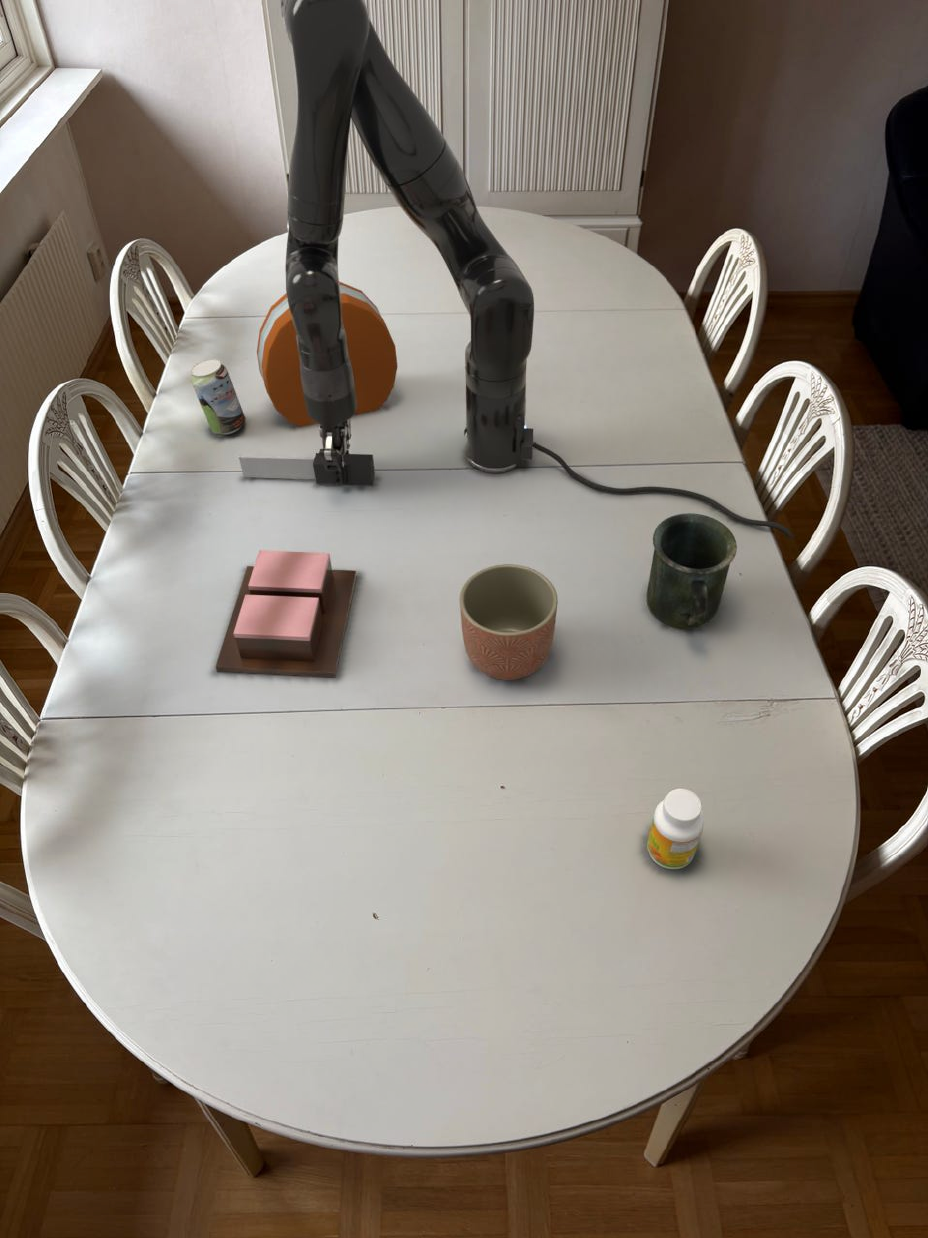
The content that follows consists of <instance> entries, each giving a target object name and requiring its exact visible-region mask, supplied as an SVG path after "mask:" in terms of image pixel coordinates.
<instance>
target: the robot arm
mask: <svg viewBox="0 0 928 1238" xmlns="http://www.w3.org/2000/svg"><path fill="white" fill-rule="evenodd" d="M280 13H281V19H282V22H283V26H284V29H285V31H286V35H287V38H288V41H289V43H290V44H291V47H292V53H293V60H294V69H295V77H296V88H297V112H296V113H297V115H296V125H295V133H294V137H293V144H292V150H291V154H290V160H289V161H290V162H289V169H288V172H289V173H288V185H287V186H288V187H287V188H288V189H287V224H288V225H287V226H288V232H287V241H286V252H285V269H284V270H285V292H286V293H287V299H288V305H289V309H290V313H291V317H292V321H293V324H294V327H295V330H296V342H297V348H298V354H299V359H300V375H301V382H302V387H303V393H304V399H305V404H306V410H307V414H308V416H309V417H310V418H311V419H312V420H313V421H315V422H317V423H316V424H319V427H318V430H319V437H320V438H321V443H322V448H319V451H318V453H319V455H320V458H321V460H322V463H323V465H324V467H325V469H326V471H331V473H332V479H333V483H334V484H333V485H337V486H347V485H346V484H347V474H346V467H345V465H346V462H345V454H350V448H351V444H350V440H351V438H352V427H351V425H352V424H351V418H352V417H353V415H354V414H355V412H356V410H357V400H356V393H355V385H354V377H353V370H352V365H351V362H350V358H349V352H348V345H347V338H346V332H345V328H344V324H343V322H342V309H341V297H340V286H339V282H340V278H339V277H340V275H339V238H340V235H341V233H342V229H343V225H344V216H345V202H346V186H347V170H348V169H347V168H348V167H347V166H348V149H349V138H350V137H349V136H350V127H351V121H352V123H353V125H354V128H355V129H356V132H357V134H358V136H359V138H360V141H361V143H362V145H363V147H364V149H365V150H366V153H367V155H368V156H369V158H370V160H371V163H372V164H373V166H374V168H375V169H376V172H377V173H378V176H380V178H381V179H382V182H383V183H384V185H385V186H386V188H387V189H388V190H389V192H390V194H391V195H392V197H393V198H394V200H395V202H397V204H398V206H399V207H400V208H401V210H402V211H403V212H404V214H405V215H406V216H407V217H408V219H409V220H410V221H411V222H412V223H413V224H414V225H415V227H417V229H418V230H419V231H420V232H421V233H423V234H424V235H425V236H426V238H428V239H429V241H431V243H432V244H433V245H434V247H435V248H436V250H437V251H438V253H439V254H440V256H441V258H442V260H443V261H444V263H445V265H446V267H447V269H448V271H449V273H450V276H451V277H452V279H453V282H454V284H455V286H456V289H457V291H458V294H459V296H460V298H461V300H462V302H463V305H464V307H465V310H466V311H467V313H468V315H469V317H470V318H469V319H470V341H469V342H468V343H467V345H466V347H465V350H464V370H465V372H464V373H465V377H464V378H465V412H466V413H465V418H466V419H465V420H466V421H465V423H466V426H465V428H464V430H463V435H464V437H465V436H466V450H465V451H466V459H467V461H468V462H469V464H470V465H471V466H472V467H474V468H475V469H477V470H478V471H481V472H486V473H490V474H491V473H492V474H499V473H506V472H509V471H511V470H512V471H513V470H515V469H516V468H524V460H525V461H527V460H529V461H531V460H532V461H533V451H534V450H533V449H535V450H537V451H540V452H541V453H543V454H546V455H547V456H549V457H551V458H552V459H554V460H555V461H557V463H558V464H559V465H560V466H561V467H562V468H563V470H564V471H565V472H566V473H567V474H568V475H570V476H571V477H572V478H574V479H575V480H576V481H578V482H580V483H582V484H584V485H585V486H587V487H590V488H592V489H594V490H598V491H601V492H605V493H610V494H611V493H612V494H619V495H622V494H623V495H625V494H637V493H638V494H639V493H665V494H673V495H680V496H686V497H690V498H693V499H696V500H699V501H702V502H705V503H707V504H709V505H711V506H713V507H714V508H716V509H718V510H719V511H720V512H721V513H723V514H724V515H726V516H727V517H729V518H731V519H733V520H734V521H737V522H739V523H741V524H744V525H750V526H754V527H755V526H756V527H765V528H771V529H775V530H778V531H779V532H781V533H783V535H784V536H785V537H787V538H789V539H792V538H794V535H793V533H792V532H791V530H790V529H788V528H787V527H786V526H784V525H782V524H780V523H778V522H775V521H770V520H769V521H768V520H758V519H751V518H746V517H744V516H741V515H739V514H737V513H734V512H733V511H731V510H730V509H729V508H727V507H726V506H724V505H723V504H721V503H719V502H718V501H716V500H714V499H713V498H711V497H708V496H706V495H704V494H701V493H697V492H695V491H690V490H686V489H680V488H674V487H665V486H664V487H663V486H639V487H638V486H637V487H627V488H625V487H623V488H622V487H621V488H620V487H611V486H606V485H602V484H599V483H596V482H593V481H591V480H589V479H587V478H585V477H583V476H581V475H580V474H578V473H577V472H576V471H574V470H573V469H572V468H571V467H570V466H569V465H568V464H567V462H566V461H565V460H564V459H563V457H561V456H560V455H559V454H557V453H556V452H554V451H553V450H551V449H549V448H547V447H545V446H543V445H541V444H539V443H537V442H536V441H534V428H530V427H529V428H527V425H526V412H527V411H526V410H527V409H526V407H527V399H526V398H527V395H526V394H527V365H528V357H529V355H530V354H531V351H532V344H533V334H534V321H535V297H534V292H533V289H532V288H531V285H530V283H529V282H528V280H527V278H526V276H524V274H523V271H522V270H521V269H520V267H519V265H518V264H517V263H516V261H514V259H513V258H512V257H511V255H510V254H508V252H507V250H505V248H504V247H503V246H502V245H501V243H500V242H499V241H498V239H497V238H496V236H495V235H494V234H493V232H492V231H491V230H490V229H489V227H488V225H487V224H486V222H485V221H484V219H483V218H482V216H481V214H480V211H479V210H478V207H477V205H476V202H475V199H474V196H473V193H472V189H471V187H470V185H469V183H468V182H469V181H468V180H467V178H466V176H465V173H464V171H463V169H462V167H461V165H460V163H459V161H458V158H457V157H456V155H455V154H454V152H453V150H452V148H451V147H450V145H449V143H448V142H447V140H446V138H445V137H444V135H443V133H442V131H441V130H440V129H439V127H438V125H437V123H436V122H435V121H434V120H433V118H432V116H431V115H430V113H429V112H428V110H427V109H426V108H425V106H424V105H423V104H422V102H421V101H420V99H419V98H418V96H417V94H416V93H415V92H414V90H413V89H412V88H411V86H410V85H409V84H408V82H407V81H406V80H405V79H404V77H403V76H402V75H401V73H400V72H399V71H398V69H397V67H396V66H395V65H394V63H393V62H392V59H391V58H390V56H389V55H388V53H387V51H386V49H385V46H384V45H383V43H382V41H381V39H380V37H379V35H378V33H377V31H376V29H375V27H374V24H373V23H372V20H371V18H370V14H369V9H368V7H367V4H366V1H365V0H280ZM286 293H285V294H286ZM354 416H355V415H354ZM339 456H340V457H339Z"/></svg>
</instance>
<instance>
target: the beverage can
mask: <svg viewBox="0 0 928 1238" xmlns="http://www.w3.org/2000/svg"><path fill="white" fill-rule="evenodd" d="M190 382H191V384H192V387H193V389H194V391H195V395H196V397H197V399H198V401H199V404H200V406H201V409H202V411H203V414H204V417H205V419H206V421H207V424H208V426H209V428H210V430H211V431H212V432H213V433H214V434H218V435H222V436H223V435H230V434H233V433H235V432H237V431H239V430H240V429H241V428H242V426H243V425H244V424H245V422H246V417H245V413H244V411H243V408H242V406H241V403H240V401H239V397H238V395H237V392H236V389H235V387H234V384H233V382H232V379H231V376H230V373H229V370H228V369H227V367H226V366H225V365H224V364H222V363H221V361H220V360H219V359H213V358H212V359H205V360H203V361H200V362H197V364H195V365H194V366H193V367H192V368H191V375H190Z"/></svg>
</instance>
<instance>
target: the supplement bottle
mask: <svg viewBox="0 0 928 1238" xmlns="http://www.w3.org/2000/svg"><path fill="white" fill-rule="evenodd" d="M702 807H703V806H702V802H701V799H700V797H699V796H698V795H697V794H696V793H695V792H693V791H691V790H689V789H685V788H676V789H675V788H674V789H673V790H670V792H668V793H667V794H666V795H665V797H664V799H663V800H661V801H660V802H659V803H658V804H657V806H656V808H655V811H654V814H653V818H652V822H651V826H650V829H649V834H648V838H647V843H646V846H647V847H646V848H647V852H648V854H649V856H650V858H651V860H653V861H654V862H655V863H656V864H657V865H659V866H660V867H662V868H664V869H668V870H678V869H679V870H680V869H683V868H685V867H687V866H688V865H689V864H690V863H691V862H692V861H693V859H694V857H695V855H696V852H697V848H698V845H699V842H700V838H701V836H702V832H703V830H704V823H705V817H704V813H703V811H702Z"/></svg>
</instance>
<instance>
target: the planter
mask: <svg viewBox="0 0 928 1238" xmlns="http://www.w3.org/2000/svg"><path fill="white" fill-rule="evenodd" d="M557 593H558V592H557V590H556V588H555V586H554V584H553V583H552V582H551V581H550V580H549V578H548V577H546V576H545V575H544V574H543V573H541V572H539V571H538V570H536V569H534V568H531V567H529V566H525V565H522V564H521V565H520V564H512V563H503V564H502V563H501V564H495V565H492V566H488V567H485V568H482V569H480V570H479V571H477V572H475V573H474V574H472V575H471V576H470V577H469V579H467V580H466V581H465V583H464V584H463V586H462V588H461V591H460V594H459V609H460V610H459V611H460V621H461V623H460V624H461V632H462V639H463V645H464V649H465V653H466V654H467V657H468V659H469V661H470V662H471V664H472V665H473V666H474V667H475V668H476V669H477V671H480V672H481V673H483V674H484V675H485V676H486V675H487V676H488V677H491V678H494V679H497V680H502V681H503V680H506V681H509V680H519V679H523V678H525V677H528V676H530V675H532V674H533V673H535V672H536V671H538V670H539V669H540V668H541V667H542V666H543V665H544V664H545V662H546V660H547V659H548V657H549V654H550V652H551V649H552V644H553V640H554V635H555V628H556V619H557V613H558V612H557V611H558V604H559V599H558V594H557Z"/></svg>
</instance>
